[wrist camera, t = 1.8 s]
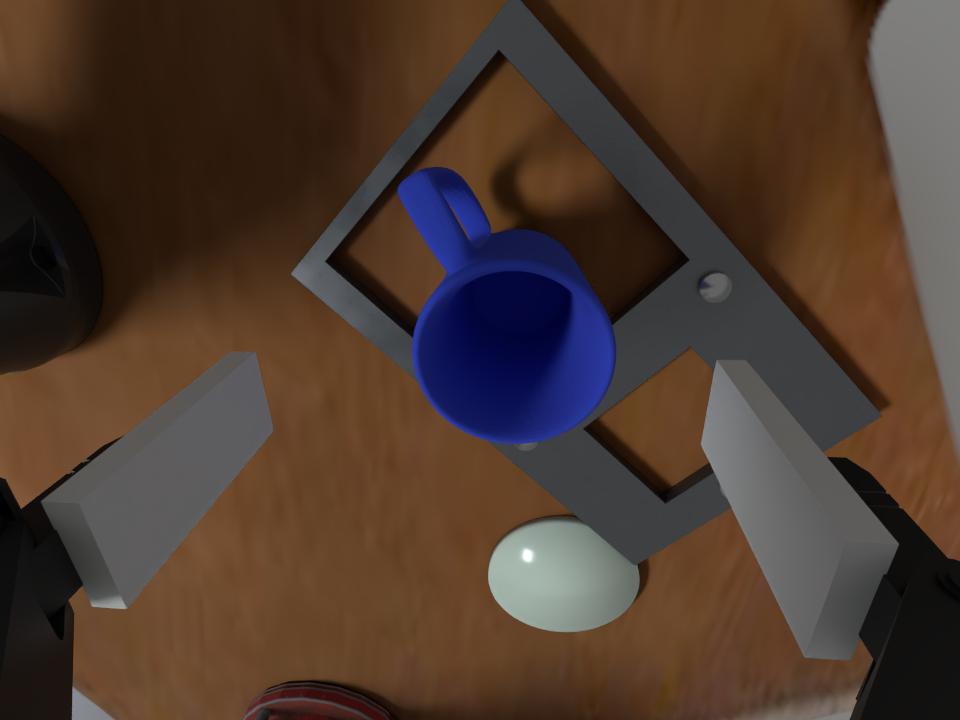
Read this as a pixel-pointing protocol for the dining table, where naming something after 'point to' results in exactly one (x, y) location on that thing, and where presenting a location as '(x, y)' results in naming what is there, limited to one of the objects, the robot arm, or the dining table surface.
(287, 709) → the hourglass
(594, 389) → the mug
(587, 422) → the gray cutout board
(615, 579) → the pale grey rounded piece
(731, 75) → the dining table surface
